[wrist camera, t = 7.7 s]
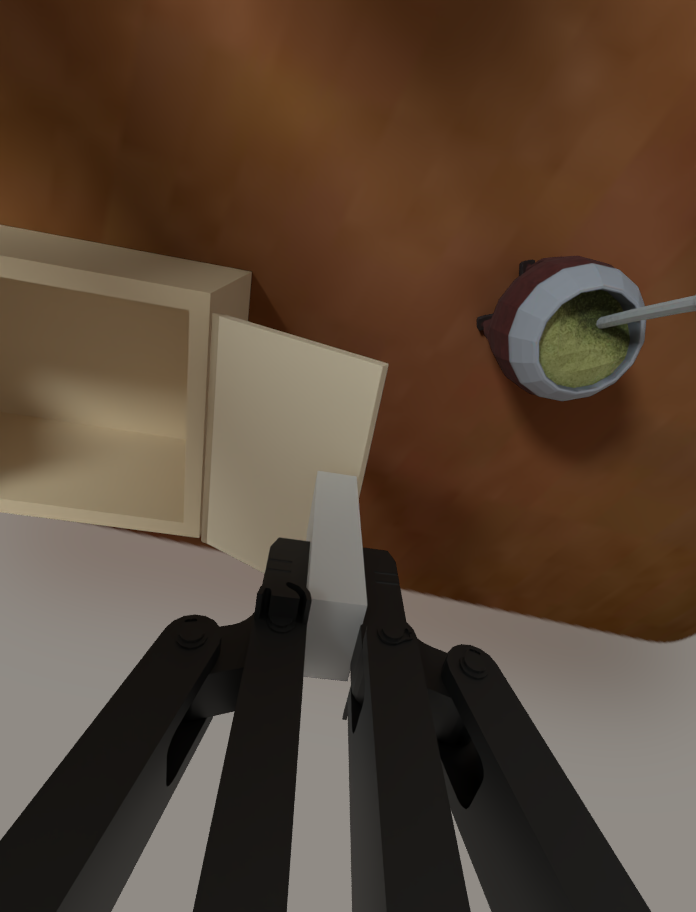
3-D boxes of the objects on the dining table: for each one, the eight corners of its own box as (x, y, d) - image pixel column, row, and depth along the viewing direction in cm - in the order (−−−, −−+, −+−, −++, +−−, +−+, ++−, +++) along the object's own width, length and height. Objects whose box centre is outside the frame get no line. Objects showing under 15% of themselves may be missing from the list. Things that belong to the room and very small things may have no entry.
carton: (-68, 408, 31) (-236, 483, 22) (-115, 203, 25) (-361, 189, 16) (237, 453, 33) (199, 539, 24) (252, 271, 27) (210, 293, 18)
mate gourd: (473, 378, 31) (581, 496, 17) (465, 249, 27) (591, 270, 14) (588, 357, 30) (792, 461, 17) (594, 223, 27) (858, 219, 13)
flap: (198, 539, 22) (330, 608, 20) (208, 313, 18) (382, 366, 15) (207, 534, 23) (336, 601, 20) (219, 312, 18) (389, 363, 16)
